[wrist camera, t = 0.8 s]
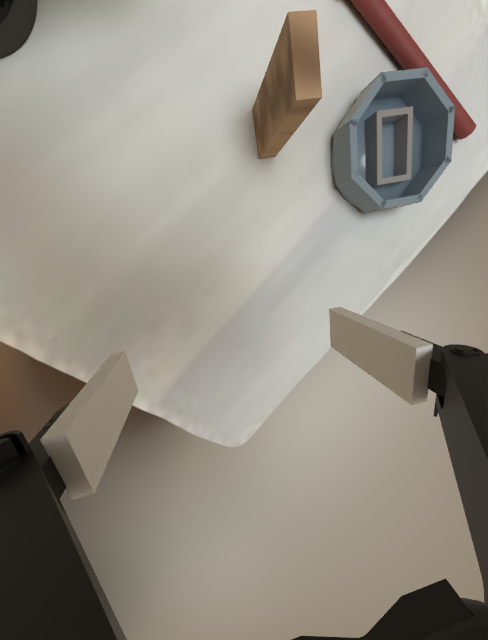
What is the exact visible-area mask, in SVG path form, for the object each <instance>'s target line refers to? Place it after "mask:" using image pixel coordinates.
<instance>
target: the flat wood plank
mask: <svg viewBox="0 0 488 640" xmlns="http://www.w3.org/2000/svg"><path fill="white" fill-rule="evenodd" d="M321 98H322V91H321V75H320V60H319V44H318V29H317V14H316V10H310V11H295V12H288V14H287V16H286V19H285V22H284V25H283V27H282V30H281V33H280V35H279V38H278V41H277V44H276V46H275V49H274V52H273V54H272V57H271V60H270V63H269V65H268V68H267V71H266V73H265V76H264V79H263V82H262V84H261V87H260V90H259V92H258V95H257V98H256V101H255V103H254V106H253V109H252V112H253V119H254V126H255V133H256V141H257V148H258V155H259V159H262V158H269V157H275V156H276V155H277V154H278V153H279V151H280V150H281V149H282V147H283V146H284V145H285V144H286V142H287V141H288V140H289V139H290V137H291V136H292V135H293V133H294V132H295V131H296V130H297V128H298V127H299V126H300V125H301V123H302V122H303V121H304V119H305V118H306V117H307V116H308V114H309V113H310V112H311V111H312V109H313V108H314V107H315V105H316V104H317V103H318V102H319V100H320V99H321Z"/></svg>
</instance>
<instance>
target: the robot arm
mask: <svg viewBox="0 0 488 640" xmlns="http://www.w3.org/2000/svg"><path fill="white" fill-rule="evenodd" d="M36 5H37V0H0V57H3V56H5V55H8V54H10V53H11V52H13V51H14V50H16V49H17V48H18V47H19V46H20V45H21V44H22V43H23V42H24V41H25V39H26V38H27V36H28V35H29V33H30V31H31V29H32V26H33V23H34V19H35V14H36ZM329 313H330V338H331V347H332V348H334V349H335V350H336V351H338V352H339V353H340V354H342V355H343V356H345V357H346V358H347V359H349V360H350V361H352V362H353V363H354V364H356V365H357V366H358V367H360V368H361V369H363V370H364V371H365V372H367V373H368V374H369V375H371V376H372V377H374V378H375V379H376V380H378V381H379V382H380V383H382V384H383V385H384V386H386V387H387V388H389V389H390V390H391V391H393V392H394V393H395V394H397V395H398V396H400V397H401V398H402V399H404V400H405V401H406V402H408V403H409V404H411V405H414V404H418V403H421V402H424V401H427V394H428V389H430V390H431V391H433V392H435V393H436V401H435V410H434V416H436V417H437V414H438V413H439V416H440V420H441V424H442V428H443V431H444V435H445V439H446V443H447V446H448V451H449V454H450V458H451V462H452V466H453V469H454V473H455V477H456V481H457V484H458V488H459V492H460V496H461V499H462V503H463V507H464V511H465V514H466V518H467V522H468V525H469V530H470V533H471V537H472V541H473V545H474V548H475V552H476V556H477V559H478V563H479V567H480V571H481V574H482V580H483V586H484V601H485V603H484V602H480V601H477V600H471V599H466V598H460V597H459V596H458V594H457V593H456V592H455V590H454V589H453V588H452V586H451V585H450V584H449V582H448V581H447V580H446V579H444V580H441V581H439V582H436V583H434V584H431V585H428V586H426V587H423V588H421V589H418V590H416V591H413V592H411V593H408V594H406V595H403V596H401V597H400V598H399V600H398V601H397V602H396V603H395V604H394V605H393V606H392V607H391V608H390V609H389V610H388V611H387V613H386V614H385V615H384V616H383V617H382V618H381V619H380V620H379V621H378V622H377V623H376V624H375V626H374V627H373V628H372V629H371V630H370V631H369V632H368V633H367V634H366V635H365V636H363V637H360V638H342V637H341V638H340V637H316V636H300V637H297V638H295V639H292V640H488V353H487V354H485V353H484V352H482V351H481V350H479V349H477V348H474V347H470V346H466V345H446V346H444V347H442V346H439V345H436V344H434V343H431V342H429V341H426V340H424V339H420V338H419V337H416V336H412V335H411V334H409V333H406V332H404V331H399V330H396V329H394V328H391V327H389V326H386V325H383V324H381V323H379V322H376V321H374V320H371V319H369V318H366V317H364V316H361V315H359V314H356V313H354V312H351V311H349V310H346V309H344V308H341V307H337V308H332V309H329ZM137 392H138V389H137V386H136V383H135V380H134V377H133V374H132V371H131V368H130V365H129V362H128V359H127V357H126V354H125V352H120V353H115V354H111V355H110V356H109V358H108V359H107V360H106V361H105V362H104V364H103V365H102V366H101V367H100V368H99V370H98V371H97V372H96V373H95V374H94V376H93V377H92V378H91V379H90V380H89V382H88V383H87V384H86V385H85V386H84V388H83V389H82V390H81V391H80V392H79V394H78V395H77V396H76V397H75V398H74V400H73V401H72V402H71V403H70V404H67V405H65V406H64V407H63V408H61V409H60V410H59V411H57V412H56V413H55V414H54V415H53V417H52V418H51V419H50V420H49V422H48V423H47V424H46V425H45V426H44V427H43V428H42V430H40V432H39V433H38V434H37V435H36V436H35V437H34V438H33V440H32V441H31V442H30V443H29V444H28V443H27V441H26V439H25V437H24V435H23V434H22V432H20V431H19V430H17V431H10V432H6V433H3V434H1V435H0V640H127V639H126V637H125V635H124V633H123V631H122V629H121V627H120V625H119V623H118V621H117V618H116V617H115V614H114V612H113V610H112V608H111V606H110V604H109V602H108V600H107V598H106V595H105V593H104V591H103V589H102V587H101V585H100V583H99V581H98V579H97V576H96V574H95V572H94V570H93V568H92V566H91V564H90V562H89V560H88V558H87V556H86V553H85V551H84V549H83V547H82V545H81V543H80V541H79V539H78V537H77V535H76V533H75V530H74V528H73V526H72V524H71V522H70V520H69V518H68V516H67V514H66V512H65V509H64V507H63V505H62V504H61V502H60V500H59V499H60V497H61V495H62V494H63V492H64V490H65V488H66V489H67V491H68V493H69V495H70V497H71V499H72V500H73V499H76V498H80V497H84V496H88V495H91V494H94V493H95V491H96V488H97V486H98V484H99V482H100V479H101V477H102V474H103V472H104V470H105V468H106V465H107V463H108V460H109V458H110V456H111V453H112V451H113V449H114V446H115V444H116V442H117V439H118V437H119V435H120V432H121V430H122V428H123V425H124V423H125V421H126V418H127V416H128V413H129V411H130V409H131V406H132V404H133V402H134V399H135V397H136V395H137Z"/></svg>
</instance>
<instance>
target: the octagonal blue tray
mask: <svg viewBox="0 0 488 640" xmlns="http://www.w3.org/2000/svg"><path fill="white" fill-rule="evenodd" d="M454 114H455V106H454V105H453V103H452V102H451V100H450V99H449V98H448V96H447V95H446V93H445V92H444V90H443V89H442V88H441V86H440V85H439V83H438V82H437V81H436V79H435V78H434V76H433V75H432V73H431V72H430V71H429V69H428V67H426V68H418V69H408V70H399V71H389V72H381V73H380V74H379V75H378V76H377V77H376V78H375V79H374V80H373V81H372V82H371V83H370V84H369V85H368V86H367V87H366V88H365V89H364V90H363V91H362V92H361V94H360V95H359V97H358V98H357V100H356V101H355V103H354V104H353V106H352V107H351V109H350V110H349V111H348V112H347V113H346V115H345V116H344V117H343V119H342V120H341V122H340V124H339V126H338V128H337V130H336V132H335V133H334V134H333V144H332V150H331V168H332V174H333V178H334V181H335V184H336V186H337V188H338V190H339V192H340V193H341V195H342V196H343V197H344V199H345V200H346V201H347V202H349V203H350V204H351V205H353V206H354V207H356V208H358V209H361V210H362V211H363V212H364V213H367V212H371V211H378V210H382V209H388V208H393V207H398V206H405V205H409V204H413V203H418V202H421V201H422V200H423V198H424V197H425V196H426V194H427V193H428V192H429V190H430V189H431V188H432V186H433V185H434V184H435V182H436V181H437V180H438V178H439V177H440V175H441V174H442V173H443V171H444V170H445V169H446V167H447V166H448V165H449V163H450V162H451V154H452V141H453V128H454Z"/></svg>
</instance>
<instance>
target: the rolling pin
mask: <svg viewBox="0 0 488 640" xmlns="http://www.w3.org/2000/svg"><path fill="white" fill-rule="evenodd" d="M350 1H351V2H352V3H353V5H354V6H355V7H356V9H357V10H358V11H359V12H360V14H361V15H362V16H363V18H364V19H365V20H366V21H367V23H368V24H369V25H370V26H371V28H372V29H373V30H374V32H375V33H376V34H377V35H378V37H379V38H380V39H381V41H382V42H383V43H384V44H385V46H386V47H387V48H388V49H389V51H390V52H391V53H392V55H393V56H394V57H395V58H396V60H397V61H398V62H399V64H400V65H401V66H402V67H403V69H404V70H408V69H418V68H426V67H428V69H429V71H430V72H431V73H432V75H433V76H434V78H435V79H436V81H437V82H438V83H439V85H440V86H441V88H442V89H443V90H444V92H445V93H446V95H447V96H448V98H449V99H450V100H451V102H452V103H453V105H454V106H455V114H454V128H453V133H454V134H455V135H456V136H457V138H458V139H464V138H466V137H467V136H469V135H470V134H471V133H472V132H473V131H474V130H475V128H476V124H475V123H474V122H473V120H472V119H471V117H470V116H469V115H468V113H467V112H466V111H465V109H464V108H463V107H462V105H461V104H460V102H459V101H458V100H457V98H456V97H455V96H454V94H453V93H452V92H451V90H450V89H449V87H448V86H447V85H446V83H445V82H444V81H443V79H442V78H441V77H440V75H439V74H438V72H437V71H436V70H435V68H434V67H433V66H432V64H431V63H430V62H429V60H428V59H427V57H426V56H425V55H424V53H423V52H422V51H421V49H420V48H419V47H418V45H417V44H416V42H415V41H414V40H413V38H412V37H411V36H410V34H409V33H408V32H407V30H406V29H405V27H404V26H403V25H402V23H401V22H400V21H399V19H398V18H397V17H396V15H395V14H394V13H393V11H392V10H391V8H390V7H389V6H388V4H387V3H386V2H385V0H350Z"/></svg>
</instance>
